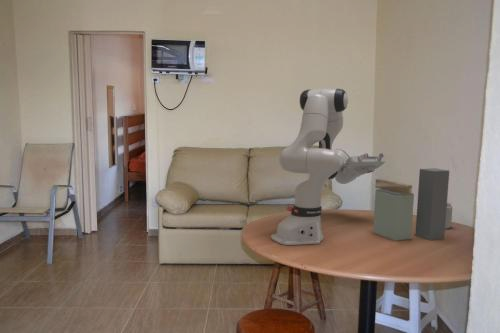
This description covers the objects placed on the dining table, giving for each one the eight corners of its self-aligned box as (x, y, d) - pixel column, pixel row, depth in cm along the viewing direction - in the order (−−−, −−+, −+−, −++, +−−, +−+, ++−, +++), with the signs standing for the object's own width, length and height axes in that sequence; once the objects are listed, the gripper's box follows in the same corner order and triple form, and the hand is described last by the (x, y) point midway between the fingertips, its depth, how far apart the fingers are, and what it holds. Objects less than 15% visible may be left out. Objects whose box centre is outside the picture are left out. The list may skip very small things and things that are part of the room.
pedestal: (429, 240, 192) (434, 171, 188) (415, 235, 199) (419, 169, 195) (444, 237, 196) (449, 170, 192) (430, 233, 203) (434, 168, 199)
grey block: (395, 240, 190) (398, 194, 187) (373, 232, 202) (375, 189, 200) (411, 238, 193) (414, 193, 191) (388, 230, 206) (391, 188, 203)
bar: (407, 195, 187) (407, 185, 186) (375, 187, 205) (375, 178, 204) (411, 194, 188) (412, 185, 187) (379, 187, 206) (379, 178, 205)
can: (453, 229, 210) (455, 204, 209) (437, 229, 211) (439, 204, 209) (446, 225, 218) (448, 201, 216) (431, 225, 218) (433, 201, 217)
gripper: (339, 161, 218) (355, 148, 207) (372, 160, 227) (389, 148, 215) (342, 172, 216) (359, 161, 205) (375, 171, 225) (393, 160, 213)
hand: (374, 154), depth 210 cm, fingers open, 8 cm apart
